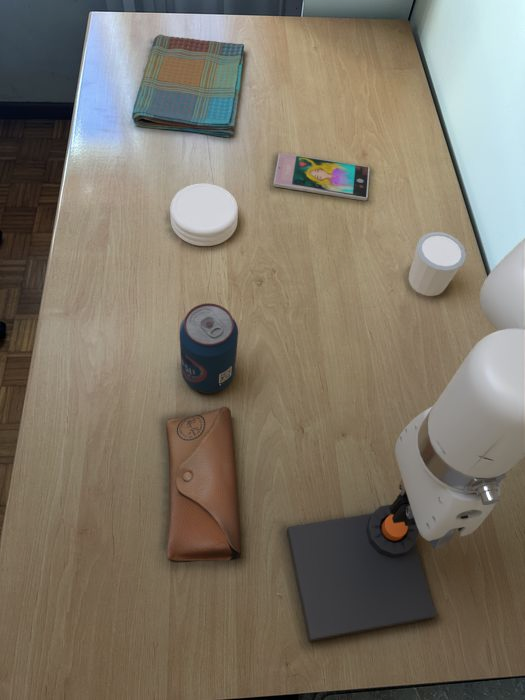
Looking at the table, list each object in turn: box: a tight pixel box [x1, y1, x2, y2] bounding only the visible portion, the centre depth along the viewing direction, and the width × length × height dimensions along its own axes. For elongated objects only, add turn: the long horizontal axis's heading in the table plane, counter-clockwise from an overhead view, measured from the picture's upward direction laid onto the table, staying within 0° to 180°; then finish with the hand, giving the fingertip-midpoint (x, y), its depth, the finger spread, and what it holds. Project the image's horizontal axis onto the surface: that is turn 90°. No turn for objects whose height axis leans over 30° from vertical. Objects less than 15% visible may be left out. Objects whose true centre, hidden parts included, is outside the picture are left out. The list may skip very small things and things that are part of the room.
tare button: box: [382, 514, 408, 541], centre depth 74 cm, size 3×3×2 cm
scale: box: [286, 503, 437, 643], centre depth 74 cm, size 14×12×4 cm
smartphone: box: [272, 152, 370, 202], centre depth 106 cm, size 7×1×15 cm
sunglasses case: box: [165, 406, 242, 563], centre depth 78 cm, size 18×7×7 cm
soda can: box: [179, 302, 239, 394], centre depth 82 cm, size 7×7×12 cm
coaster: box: [169, 182, 239, 247], centre depth 99 cm, size 10×10×4 cm
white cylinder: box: [408, 231, 467, 297], centre depth 95 cm, size 7×7×7 cm
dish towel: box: [131, 34, 245, 138], centre depth 115 cm, size 17×23×2 cm
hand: (405, 513), depth 69 cm, fingers closed
